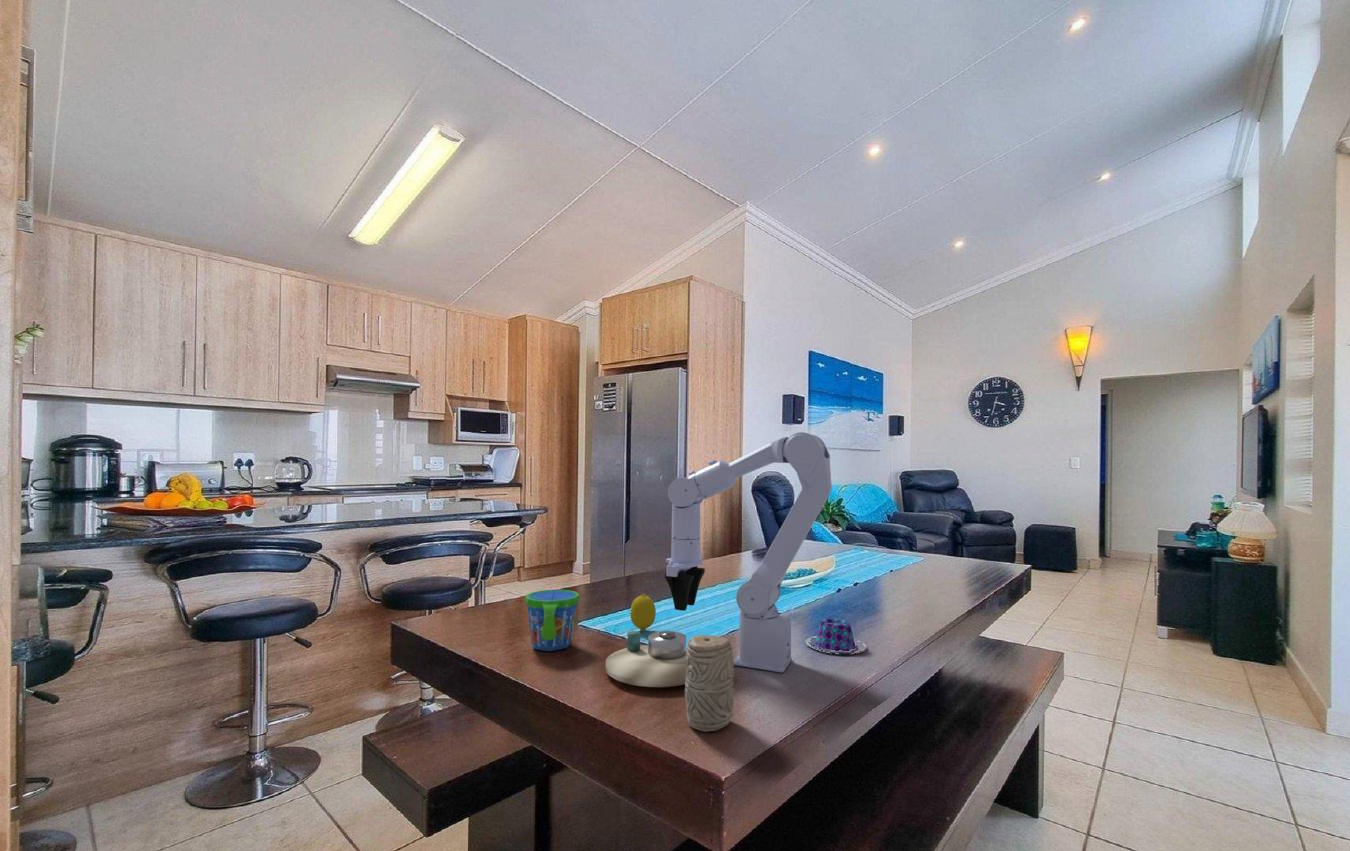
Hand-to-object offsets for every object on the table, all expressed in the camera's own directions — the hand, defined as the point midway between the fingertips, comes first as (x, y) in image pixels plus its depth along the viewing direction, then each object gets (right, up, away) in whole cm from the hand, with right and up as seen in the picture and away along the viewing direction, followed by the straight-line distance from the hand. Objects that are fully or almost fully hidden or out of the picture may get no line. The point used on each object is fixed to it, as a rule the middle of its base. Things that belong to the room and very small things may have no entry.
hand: (684, 607), depth 113 cm
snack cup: (-27, -8, +1) cm, 28 cm away
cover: (-3, -6, -8) cm, 11 cm away
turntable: (-5, -8, -12) cm, 15 cm away
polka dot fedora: (+31, -10, +4) cm, 33 cm away
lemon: (-9, -9, +12) cm, 18 cm away
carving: (+3, -7, -32) cm, 33 cm away
